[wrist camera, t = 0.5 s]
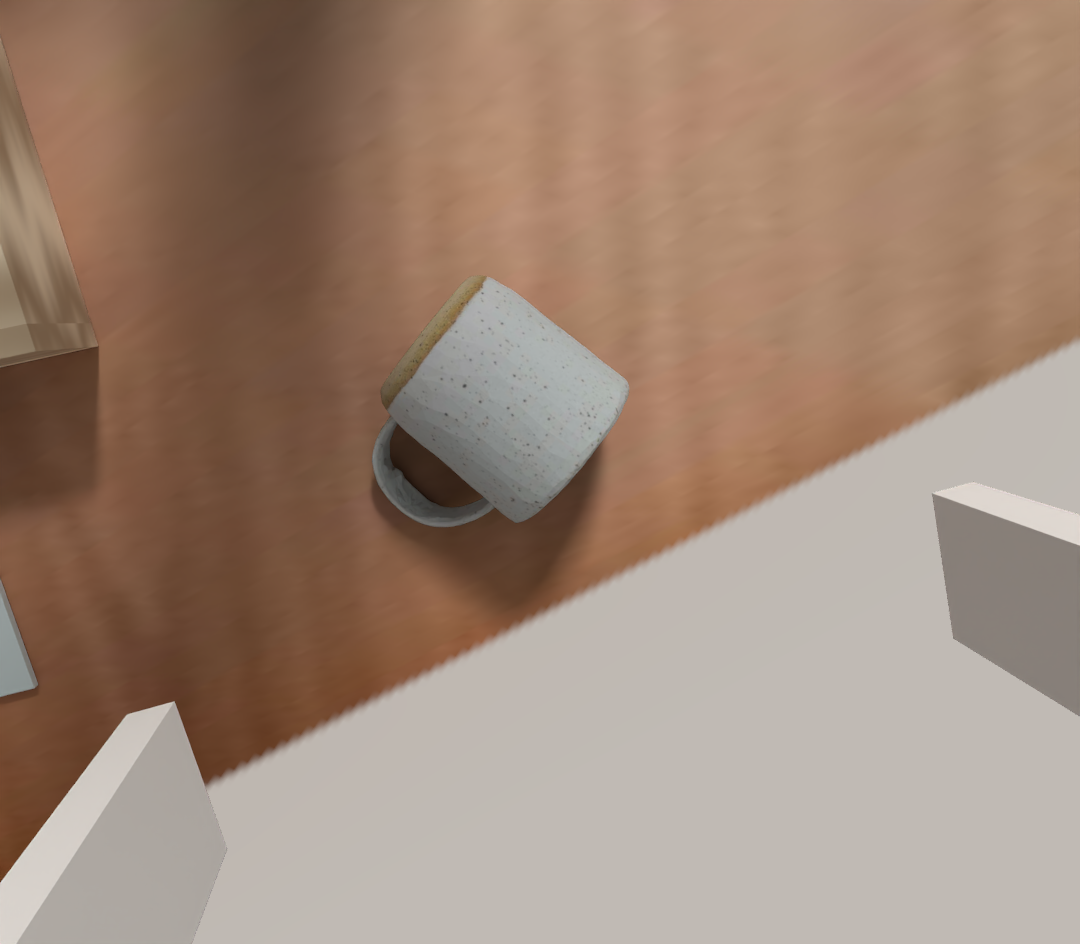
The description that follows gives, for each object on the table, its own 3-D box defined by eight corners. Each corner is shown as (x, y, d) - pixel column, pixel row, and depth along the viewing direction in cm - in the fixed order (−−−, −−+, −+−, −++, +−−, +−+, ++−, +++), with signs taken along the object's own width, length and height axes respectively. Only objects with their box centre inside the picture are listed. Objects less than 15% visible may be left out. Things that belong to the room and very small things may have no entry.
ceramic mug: (472, 264, 38) (480, 254, 31) (612, 377, 40) (653, 393, 32) (331, 452, 39) (305, 486, 32) (474, 555, 41) (482, 610, 33)
